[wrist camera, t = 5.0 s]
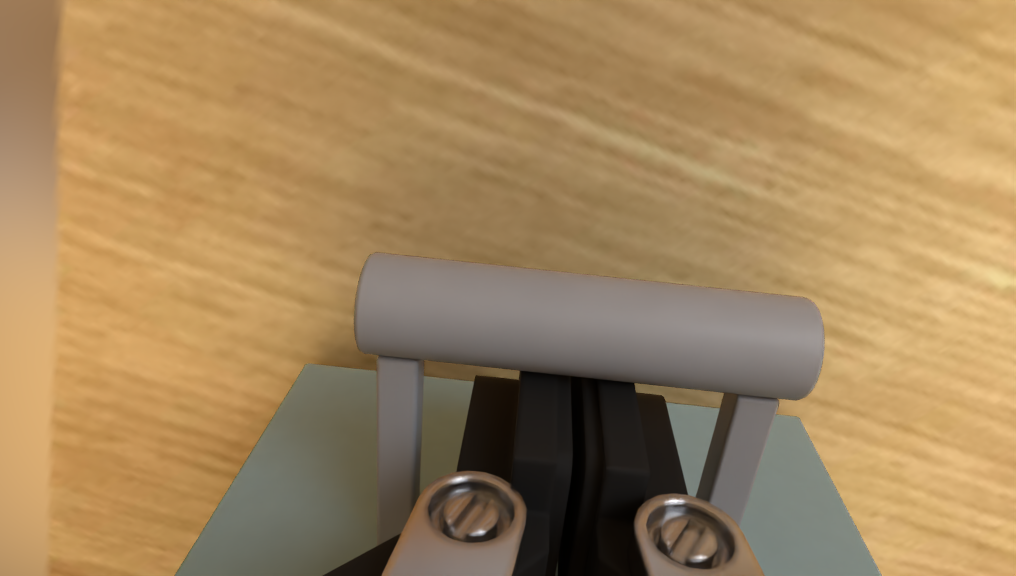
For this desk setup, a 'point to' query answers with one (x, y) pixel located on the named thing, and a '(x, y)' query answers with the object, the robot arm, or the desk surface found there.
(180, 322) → the desk surface
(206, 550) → the pull-out drawer
